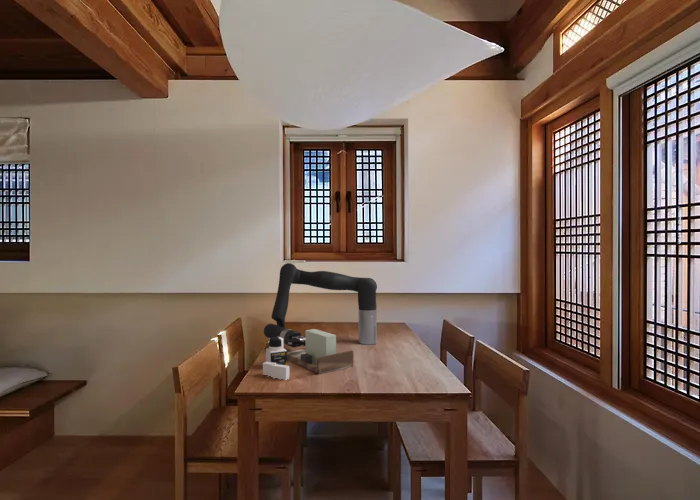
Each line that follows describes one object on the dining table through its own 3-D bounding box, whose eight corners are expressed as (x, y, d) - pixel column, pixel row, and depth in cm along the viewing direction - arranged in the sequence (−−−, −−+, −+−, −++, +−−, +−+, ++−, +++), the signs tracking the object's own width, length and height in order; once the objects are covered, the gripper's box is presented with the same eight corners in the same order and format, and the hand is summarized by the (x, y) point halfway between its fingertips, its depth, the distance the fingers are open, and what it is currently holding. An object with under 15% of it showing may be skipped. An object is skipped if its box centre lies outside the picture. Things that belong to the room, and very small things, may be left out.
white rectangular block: (296, 381, 161) (296, 366, 161) (267, 385, 156) (267, 370, 156) (283, 370, 174) (283, 356, 174) (256, 374, 169) (256, 360, 169)
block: (305, 359, 186) (305, 330, 185) (315, 357, 189) (314, 328, 189) (326, 368, 173) (326, 336, 173) (336, 366, 176) (336, 335, 176)
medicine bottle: (270, 369, 174) (270, 340, 173) (265, 365, 180) (265, 336, 180) (287, 367, 177) (287, 338, 177) (281, 362, 183) (281, 335, 183)
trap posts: (300, 363, 180) (300, 354, 180) (329, 357, 189) (329, 348, 189) (305, 366, 177) (305, 356, 177) (334, 359, 186) (334, 350, 186)
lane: (275, 355, 195) (275, 341, 195) (307, 349, 206) (307, 336, 205) (318, 374, 167) (318, 358, 167) (353, 366, 178) (353, 351, 177)
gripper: (278, 331, 197) (297, 338, 183) (302, 328, 205) (322, 334, 191) (278, 347, 197) (297, 355, 183) (302, 343, 205) (322, 350, 191)
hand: (310, 344), depth 187 cm, fingers closed
